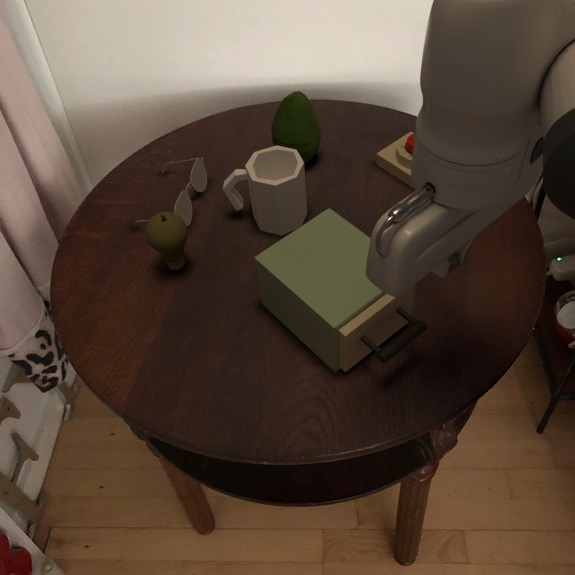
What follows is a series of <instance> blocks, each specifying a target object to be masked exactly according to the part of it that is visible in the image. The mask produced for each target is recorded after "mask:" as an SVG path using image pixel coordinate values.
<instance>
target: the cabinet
mask: <svg viewBox="0 0 575 575" xmlns="http://www.w3.org/2000/svg"><path fill="white" fill-rule="evenodd" d="M370 240H371V237H369V236H368V235H367V234H365V233H364V232H363V231H361V230H360V229H358V228H357V227H356V226H355V225H353V223H351V222H349V221H348V220H346V219H345V218H344V217H342V216H341V215H340V214H338V213H337V212H336V211H334V210H333V209H332V208H331V207H329V208H327V209H326V210H324V211H322V212H321V213H320V214H317V215H316V216H315V217H313V218H312V219H310V220H309V221H307V222H306V223H304V224H302V226H301V227H300V228H298V229H296V230H293V231H291V232H290V233H289V234H287V235H286V236H284V237H283V238H281V239H280V240H278V241H277V242H275V243H274V244H272V245H271V246H269V247H268V248H267V249H265V250H263V251H262V252H260V253H259V254H257V255H255V256H254V257H253V259H254V264H255V270H256V276H257V282H258V288H259V294H260V298H261V300H260V301H261V304H262V305H263V306H264V308H266V309H267V310H268V311H269V312H270V313H271V314H272V315H273V316H274V317H275V318H276V319H277V320H278V321H279V322H281V323H282V324H283V325H284V326H285V327H286V328H287V329H288V330H289V331H290V332H291V333H292V334H293V335H294V336H295V337H296V338H298V340H300V341H301V342H302V343H303V344H304V345H305V346H306V347H307V348H308V349H309V350H310V351H312V352H313V353H314V355H315V356H317V357H318V358H319V359H320V360H321V361H322V362H323V363H324V364H325V365H327V367H329V369H330V370H332V372H334V373H337V372H338V371H339V370H342V369H341V368H340V367H339V338H338V330H339V328H340V327H341V326H343V325H344V324H345V323H347V322H348V321H349V320H350V319H352V318H353V317H354V316H356V315H357V314H358V313H360V312H361V311H362V310H364V309H365V308H366V307H368V306H369V305H370V304H372V303H373V302H374V301H376V300H377V299H378V298H379V297H381V296H382V295H383V294H385V292H383V291H382V290H380V289H379V288H378V287H376V286H375V285H374V284H373V283H372V282H370V280H369V279H368V278H367V276H366V263H367V256H368V250H369V245H370Z"/></svg>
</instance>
